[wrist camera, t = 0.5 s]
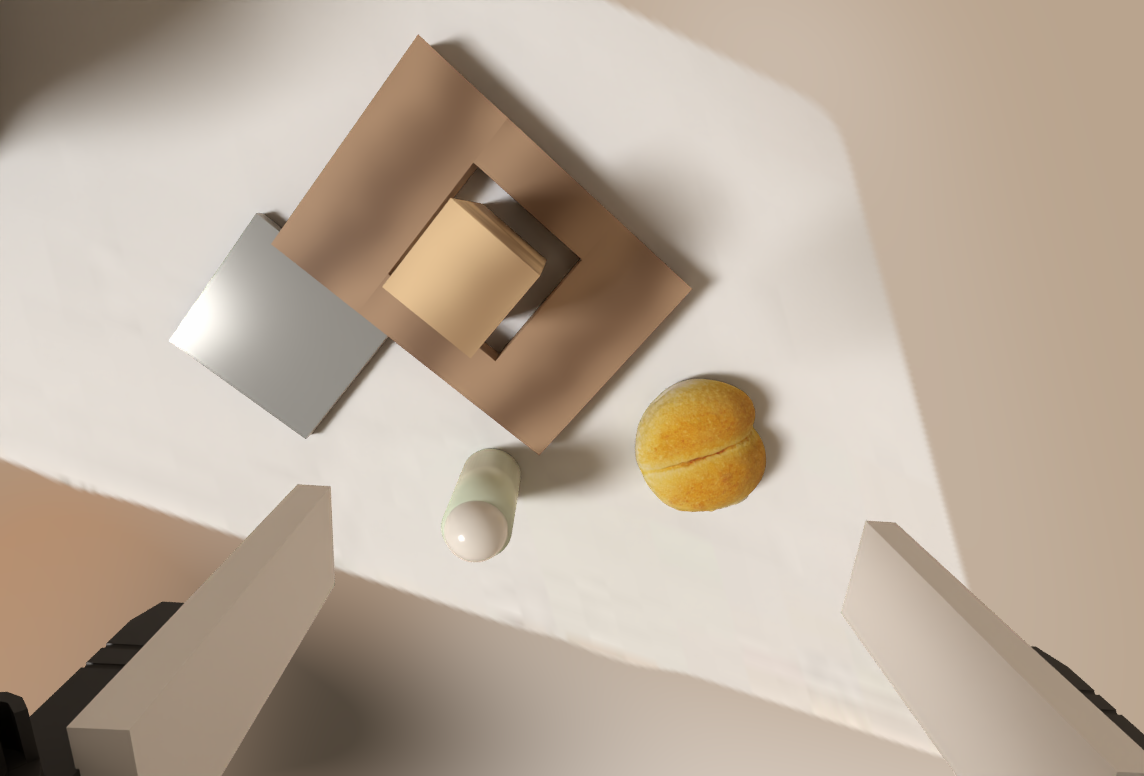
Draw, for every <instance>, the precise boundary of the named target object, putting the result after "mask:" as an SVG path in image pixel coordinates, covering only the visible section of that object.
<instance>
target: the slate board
mask: <svg viewBox="0 0 1144 776" xmlns="http://www.w3.org/2000/svg"><path fill="white" fill-rule="evenodd" d="M281 229H282V228H281V227H280V226H279V225H277V224H276V223H275V222H273V221H272V220H271V219H270V218H268V217H267V216H266V215H265V214H263V213H256V215H255V216H254V217H253V219H252V220H251V222H250V223H249V225H248V226H247V228H246V229H245V231H244V232H243V233H242V235H241V236H240V238H239V239H238V241H237V242H236V244H235V245H234V247H233V248H232V250H231V251H230V252H229V254H228V255H227V257H226V258H225V260H224V261H223V263H222V264H221V266H220V267H219V268H218V270H217V271H216V273H215V274H214V276H213V277H212V279H211V280H210V282H209V283H208V285H207V286H206V287H205V289H204V290H203V292H202V293H201V295H200V296H199V298H198V299H197V301H196V302H195V303H194V305H193V306H192V308H191V309H190V311H189V312H188V314H187V315H186V317H185V318H184V320H183V321H182V322H181V324H180V325H179V327H178V328H177V330H176V331H175V333H174V334H173V336H172V337H171V338H170V340H169V341H170V342H171V343H173V344H174V345H176V346H177V347H178V348H180V349H181V350H182V351H184V352H185V353H187V354H188V355H189V356H191V357H192V358H194V359H195V360H196V361H198V362H199V363H201V364H202V365H203V366H205V367H206V368H208V369H209V370H210V371H212V372H213V373H214V374H216V375H217V376H219V377H220V378H221V379H223V380H224V381H226V382H227V383H228V384H230V385H231V386H233V387H234V388H235V389H237V390H238V391H240V392H241V393H242V394H244V395H245V396H246V397H248V398H249V399H251V400H252V401H253V402H255V403H256V404H258V405H259V406H260V407H262V408H263V409H265V410H266V411H267V412H269V413H270V414H272V415H273V416H274V417H276V418H277V419H279V420H280V421H281V422H283V423H284V424H285V425H287V426H288V427H290V428H291V429H292V430H294V431H295V432H297V433H298V434H299V435H301V436H302V437H304V438H305V439H306V438H308V437H309V436H310V435H311V434H312V433H313V432H314V430H315V429H316V428H317V426H318V425H319V424H320V423H321V421H322V420H323V419H324V418H325V416H326V415H327V414H328V413H329V411H330V410H331V409H332V408H333V406H334V405H335V404H336V402H337V401H338V400H339V399H340V397H341V396H342V395H343V394H344V392H345V391H346V390H347V389H348V387H349V386H350V385H351V384H352V382H353V381H354V380H355V379H356V377H357V376H358V375H359V373H360V372H361V371H362V370H363V368H364V367H365V366H366V365H367V363H368V362H369V361H370V360H371V358H372V357H373V356H374V355H375V353H376V352H377V351H378V349H379V348H380V347H381V346H382V344H383V343H384V342H385V341H386V339H387V338H388V336H387V335H386V334H384V333H383V332H382V331H381V330H379V329H378V328H377V327H376V326H374V325H373V324H372V323H371V322H369V321H368V320H367V319H365V318H364V317H363V316H362V315H360V314H359V313H358V312H357V311H355V310H354V309H353V308H351V307H350V306H349V305H348V304H346V303H345V302H344V301H343V300H341V299H340V298H339V297H338V296H336V295H335V294H334V293H332V292H331V291H330V290H329V289H327V288H326V287H325V286H324V285H322V284H321V283H320V282H318V281H317V280H316V279H315V278H313V277H312V276H311V275H310V274H308V273H307V272H306V271H304V270H303V269H302V268H301V267H299V266H298V265H297V264H296V263H294V262H293V261H292V260H291V259H289V258H288V257H287V256H285V255H284V254H283V253H282V252H280V251H279V250H278V249H277V248H275V247H274V246H273V245H271V243H272V242H273V240H274V239H275V238H276V236H277V235H278V233H279V232H280V230H281Z"/></svg>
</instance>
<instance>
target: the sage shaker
mask: <svg viewBox="0 0 1144 776" xmlns="http://www.w3.org/2000/svg"><path fill="white" fill-rule="evenodd" d="M520 480H521V472H520V468H519V466H518V464H517V462H516V461H515V459H514V458H513V457H512V456H511V455H509V454H508V453H506V452H504V451H502V450H498V449H483V450H480V451H477V452H476V453H474V454H473V455H471V456H470V457H469V458H468V459H467V461H466V463H465V464H464V467H463V469H462V472H461V474H460V477H459V479H458V482H457V484H456V487H455V489H454V492H453V494H452V497H451V499H450V502H449V504H448V506H447V509H446V511H445V514H444V516H443V519H442V523H441V532H442V536H443V538H444V541H445V542H446V544H447V545H448V547H449V549H450V550H451V551H452V553H453V554H454V555H456V556H457V557H459V558H460V559H462V560H465V561H468V562H482V561H486V560H488V559H490V558H492V557H494V556H496V555H497V554H499V553H500V552H502V551H503V550H504V549H505V547H506V546H507V545H508V543H509V541H510V538H511V534H512V528H513V522H514V516H515V510H516V504H517V498H518V492H519V486H520Z"/></svg>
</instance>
